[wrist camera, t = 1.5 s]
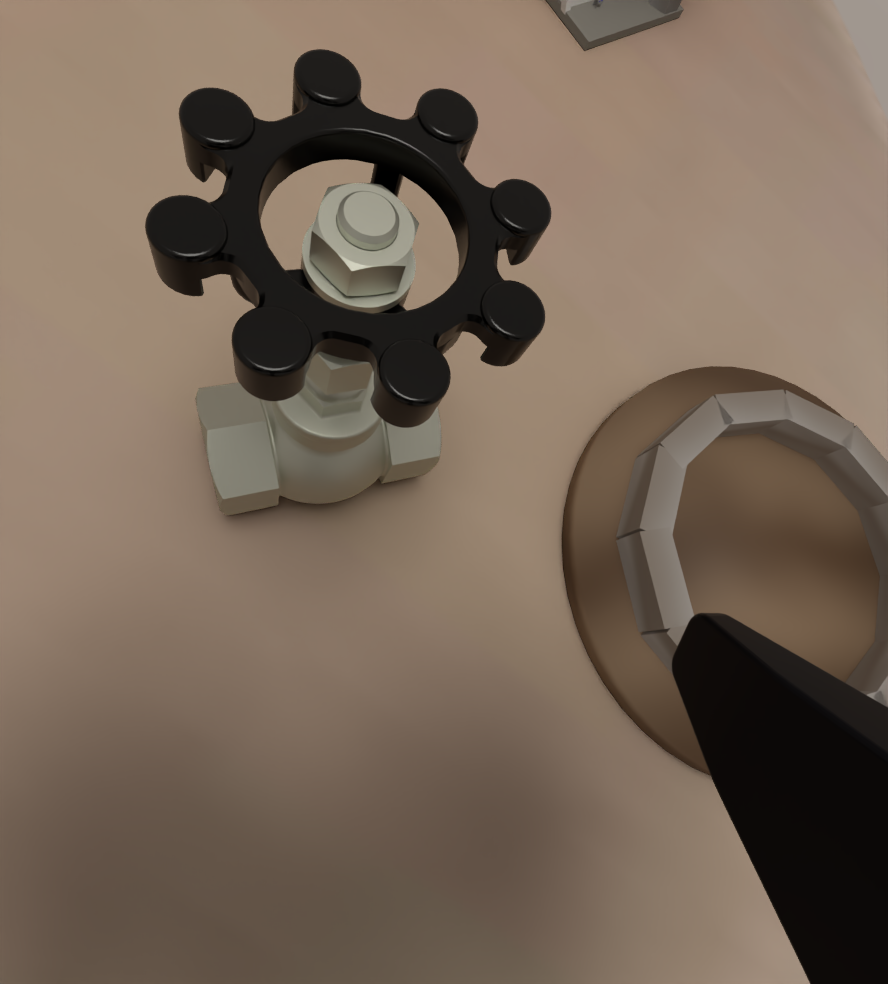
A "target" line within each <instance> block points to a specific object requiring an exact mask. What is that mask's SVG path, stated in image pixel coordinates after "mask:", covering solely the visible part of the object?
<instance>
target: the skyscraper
mask: <svg viewBox="0 0 888 984" xmlns="http://www.w3.org/2000/svg"><path fill="white" fill-rule="evenodd" d="M546 1H547V2H548V3H549V4H550V6H551V7H552V8H553V10H554V11H555V12H556V14H557V15H558V16H559V18H560V19H561V20H562V22H563V23H564V24H565V26H566V27H567V28H568V29H569V31H570V32H571V33H572V35H573V36H574V37H575V39H576V40H577V41H578V43H579V44H580V45H581V47H582V48H583V49H584V50H587V49H590V48H593V47H596V46H599V45H602V44H605V43H608V42H610V41H613V40H616V39H619V38H622V37H625V36H628V35H631V34H633V33H636V32H639V31H642V30H645V29H648V28H651V27H654V26H656V25H659V24H662V23H665V22H668V21H671V20H674V19H677V18H679V16H680V15H681V13H682V11H683V10H684V9H683V8H682V7H681V5H680V3H681V0H546Z"/></svg>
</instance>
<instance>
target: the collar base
mask: <svg viewBox="0 0 888 984" xmlns="http://www.w3.org/2000/svg"><path fill="white" fill-rule="evenodd" d="M562 549H563V569H564V575H565V581H566V587H567V593H568V598H569V602H570V605H571V609H572V612H573V616H574V619H575V623H576V626H577V629H578V631H579V633H580V636H581V638H582V641H583V643H584V645H585V648H586V650H587V653H588V655H589V657H590V659H591V661H592V662H593V664H594V666H595V668H596V670H597V671H598V673H599V675H600V677H601V679H602V680H603V682H604V684H605V685H606V686H607V688H608V689H609V691H610V692H611V693H612V695H613V696H614V698H615V699H616V700H617V702H618V703H619V705H620V706H621V707H622V709H623V710H624V711H625V712H626V713H627V714H628V715H629V716H630V717H631V718H632V720H633V721H634V722H635V723H636V724H637V725H638V726H639V727H640V728H641V729H642V730H643V731H644V732H645V733H646V734H647V735H648V736H649V737H651V738H652V739H653V740H654V741H655V742H656V743H658V744H659V745H660V746H661V747H662V748H664V749H665V750H666V751H667V752H669V753H671V754H672V755H674V756H675V757H677V758H678V759H680V760H681V761H683V762H684V763H686V764H688V765H689V766H691V767H693V768H695V769H697V770H699V771H702V772H704V773H706V774H708V775H710V772H709V770H708V767H707V765H706V762H705V760H704V757H703V754H702V752H701V749H700V746H699V744H698V741H697V738H696V736H695V733H694V730H693V728H692V725H691V722H690V720H689V717H688V714H687V712H686V709H685V706H684V704H683V701H682V698H681V696H680V693H679V690H678V688H677V685H676V682H675V680H674V677H673V673H672V657H673V655H674V652H675V650H676V648H677V646H678V644H679V642H680V639H681V637H682V635H683V633H684V631H685V629H686V627H687V624H688V622H689V621H690V619H691V618H692V617H693V616H694V615H695V614H698V613H723V614H726V615H729V616H730V617H732V618H734V619H736V620H737V621H739V622H741V623H743V624H744V625H746V626H748V627H750V628H751V629H753V630H755V631H756V632H758V633H760V634H762V635H763V636H765V637H767V638H769V639H770V640H772V641H774V642H776V643H777V644H779V645H781V646H782V647H784V648H786V649H788V650H789V651H791V652H793V653H795V654H796V655H798V656H800V657H802V658H803V659H805V660H807V661H808V662H810V663H812V664H814V665H815V666H817V667H819V668H821V669H822V670H824V671H826V672H828V673H829V674H831V675H833V676H834V677H836V678H838V679H840V680H841V681H843V682H845V683H847V684H848V685H850V686H852V687H854V688H855V689H857V690H859V691H860V692H862V693H864V694H866V695H867V696H869V697H871V698H873V699H874V700H876V701H878V702H880V703H881V704H883V705H885V706H886V707H888V462H887V460H886V459H885V458H884V457H883V456H882V455H881V453H880V452H879V451H878V450H877V449H876V448H875V446H874V445H873V444H872V443H871V442H870V441H869V439H868V438H867V437H866V436H865V435H864V434H863V432H862V431H861V430H860V429H859V428H858V427H857V425H856V426H854V423H852V422H850V421H848V420H846V419H844V418H843V417H842V416H841V415H840V414H839V413H838V412H836V411H835V410H834V409H832V408H831V407H830V406H828V405H827V404H825V403H824V402H823V401H821V400H820V399H818V398H817V397H816V396H814V395H812V394H810V393H809V392H807V391H805V390H803V389H801V388H800V387H798V386H796V385H794V384H792V383H789V382H787V381H785V380H782V379H780V378H778V377H775V376H772V375H768V374H765V373H762V372H758V371H755V370H749V369H743V368H736V367H703V368H695V369H689V370H685V371H682V372H679V373H675V374H672V375H669V376H667V377H665V378H663V379H661V380H658V381H656V382H654V383H652V384H650V385H649V386H647V387H646V388H644V389H643V390H642V391H640V392H639V393H637V394H636V395H634V396H633V397H632V398H630V399H629V400H628V401H626V402H625V403H624V404H622V405H621V406H620V407H618V408H617V409H616V410H615V411H614V412H613V413H612V414H611V415H610V416H609V417H608V418H607V419H606V420H605V421H604V422H603V423H602V425H601V426H600V427H599V429H598V430H597V431H596V433H595V434H594V435H593V437H592V438H591V439H590V441H589V443H588V444H587V446H586V448H585V450H584V452H583V454H582V456H581V458H580V459H579V461H578V464H577V467H576V469H575V472H574V475H573V478H572V480H571V483H570V486H569V491H568V496H567V500H566V505H565V510H564V520H563V533H562ZM710 776H711V775H710Z"/></svg>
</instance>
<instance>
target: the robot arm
mask: <svg viewBox="0 0 888 984" xmlns="http://www.w3.org/2000/svg"><path fill="white" fill-rule="evenodd" d="M672 673H673V677H674V680H675V682H676V685H677V688H678V690H679V693H680V696H681V698H682V701H683V704H684V706H685V709H686V712H687V714H688V717H689V720H690V722H691V725H692V728H693V730H694V733H695V736H696V738H697V741H698V744H699V746H700V749H701V752H702V754H703V757H704V760H705V762H706V765H707V767H708V770H709V772H710V775H711V777H712V780H713V782H714V784H715V786H716V788H717V791H718V793H719V795H720V797H721V799H722V801H723V804H724V806H725V808H726V810H727V812H728V814H729V816H730V818H731V820H732V822H733V824H734V826H735V828H736V831H737V833H738V835H739V837H740V839H741V841H742V843H743V845H744V847H745V849H746V851H747V853H748V855H749V857H750V860H751V862H752V864H753V866H754V868H755V870H756V872H757V874H758V876H759V878H760V880H761V882H762V884H763V887H764V889H765V891H766V893H767V895H768V897H769V899H770V901H771V903H772V905H773V907H774V909H775V911H776V913H777V916H778V918H779V920H780V922H781V924H782V926H783V928H784V930H785V932H786V934H787V936H788V938H789V940H790V943H791V945H792V947H793V949H794V951H795V953H796V955H797V957H798V959H799V961H800V963H801V965H802V967H803V969H804V972H805V974H806V976H807V978H808V980H809V982H810V984H888V707H886V706H885V705H883V704H881V703H880V702H878V701H876V700H874V699H873V698H871V697H869V696H867V695H866V694H864V693H862V692H860V691H859V690H857V689H855V688H854V687H852V686H850V685H848V684H847V683H845V682H843V681H841V680H840V679H838V678H836V677H834V676H833V675H831V674H829V673H828V672H826V671H824V670H822V669H821V668H819V667H817V666H815V665H814V664H812V663H810V662H808V661H807V660H805V659H803V658H802V657H800V656H798V655H796V654H795V653H793V652H791V651H789V650H788V649H786V648H784V647H782V646H781V645H779V644H777V643H776V642H774V641H772V640H770V639H769V638H767V637H765V636H763V635H762V634H760V633H758V632H756V631H755V630H753V629H751V628H750V627H748V626H746V625H744V624H743V623H741V622H739V621H737V620H736V619H734V618H732V617H730V616H729V615H726V614H723V613H698V614H695V615H694V616H693V617H692V618H691V619H690V621H689V622H688V624H687V627H686V629H685V631H684V633H683V635H682V637H681V639H680V642H679V644H678V646H677V648H676V650H675V652H674V655H673V657H672Z"/></svg>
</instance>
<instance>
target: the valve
mask: <svg viewBox="0 0 888 984" xmlns="http://www.w3.org/2000/svg"><path fill="white" fill-rule="evenodd" d="M360 92H361V79H360V75H359V73H358V71H357V69H356V68H355V66H354V65H353V64H352V63H351V62H350V61H349V60H348V59H346V58H345V57H344V56H342V55H340V54H338V53H336V52H333V51H329V50H323V49H318V50H311V51H308V52H306V53H304V54H303V55H301V56H300V57H299V58H298V60H297V62H296V63H295V67H294V78H293V103H292V115H290V116H288V117H285V118H283V119H280V120H277V121H263V120H260V119H258V118H256V117H254V115H253V113H252V111H251V109H250V108H249V106H248V105H247V104H246V103H245V102H244V101H243V100H242V99H241V98H240V97H238V96H237V95H235V94H234V93H231V92H229V91H227V90H223V89H219V88H202V89H198V90H195V91H193V92H191V93H190V94H188V95H187V96H186V97H185V98H184V99H183V101H182V103H181V105H180V108H179V119H180V126H181V132H182V138H183V144H184V150H185V157H186V162H187V165H188V167H189V169H190V171H191V172H192V173H193V174H194V175H195V177H196V178H198V179H199V180H200V181H202V182H206V181H207V179H208V178H209V176H210V175H211V174H212V172H213V171H214V169H217V170H219V171H221V172H222V173H223V174H224V175H225V176H226V182H225V185H224V189H223V193H222V194H221V196H220V197H219V198H218V199H217V200H215V201H213V202H210V203H208V202H207V201H205V200H202V199H200V198H197V197H193V196H188V195H178V196H171V197H168V198H165V199H163V200H161V201H159V202H158V203H157V204H155V205H154V206H153V207H152V208H151V210H150V211H149V213H148V215H147V218H146V224H145V229H146V234H147V238H148V241H149V245H150V249H151V252H152V256H153V259H154V263H155V267H156V270H157V273H158V275H159V277H160V278H161V279H162V281H163V282H164V283H165V284H166V285H167V286H168V287H170V288H171V289H173V290H174V291H176V292H179V293H181V294H184V295H189V296H202V295H203V293H204V292H203V286H202V280H201V279H205V278H208V277H211V276H214V275H217V274H228V275H230V276H231V280H232V284H233V287H234V288H235V290H236V291H237V293H238V294H239V295H240V296H242V297H243V298H244V299H245V300H247V301H249V302H251V303H252V304H254V306H255V307H256V308H255V309H252V310H250V311H248V312H247V313H245V314H244V315H243V316H242V317H240V319H239V320H238V321H237V323H236V324H235V327H234V329H233V332H232V348H233V358H234V366H235V373H236V376H237V379H238V381H239V383H232V384H225V385H218V386H211V387H204V388H199V389H198V392H197V395H196V398H195V400H196V406H197V411H198V416H199V421H200V425H201V430H202V435H203V439H204V444H205V448H206V453H207V457H208V462H209V466H210V471H211V475H212V479H213V484H214V488H215V492H216V496H217V500H218V504H219V508H220V511H221V512H222V513H223V514H225V515H227V516H229V515H233V514H238V513H243V512H248V511H253V510H257V509H262V508H267V507H272V506H277V505H278V500H279V496H283V497H285V498H288V499H291V500H294V501H298V502H303V503H312V504H325V503H333V502H338V501H341V500H345V499H347V498H350V497H352V496H355V495H356V494H358V493H360V492H362V491H363V490H365V489H366V488H368V487H369V486H370V485H372V484H373V483H374V482H375V481H376V480H377V479H378V478H379V480H380V482H381V484H382V483H387V482H392V481H396V480H401V479H406V478H411V477H416V476H420V475H425V474H426V473H428V472H429V471H430V470H431V469H432V468H433V467H434V466H435V465H436V464H437V463H438V461H439V458H440V452H441V424H440V417H439V411H438V405H439V403H440V401H441V400H442V398H443V397H444V395H445V394H446V392H447V390H448V388H449V385H450V378H451V377H450V369H449V365H448V363H447V361H446V359H445V357H444V356H443V354H444V353H445V352H446V351H447V350H449V349H450V348H451V347H452V346H453V345H454V344H455V343H456V341H457V340H458V338H459V336H460V334H461V333H462V331H464V332H469V333H472V334H474V335H476V336H477V337H478V338H479V339H480V340H481V341H482V342H483V343H484V344H485V345H486V346H487V348H486V349H485V351H484V352H483V354H482V355H481V357H480V358H481V361H483V362H485V363H487V364H490V365H493V366H507V365H510V364H512V363H514V362H516V361H517V360H518V359H519V358H520V357H521V356H522V354H523V353H524V352H525V351H526V349H527V348H528V347H529V346H530V344H531V343H532V342H533V341H534V340H535V338H536V337H537V336H538V335H539V333H540V332H541V330H542V328H543V326H544V323H545V310H544V307H543V304H542V302H541V300H540V298H539V297H538V296H537V294H536V293H535V292H534V291H533V290H532V289H530V288H529V287H527V286H526V285H524V284H522V283H519V282H516V281H511V280H506V281H505V280H503V278H502V277H501V276H500V274H499V272H498V269H497V259H498V251H499V250H501V249H506V250H507V254H508V259H509V263H510V265H517V264H519V263H522V262H523V261H525V260H526V259H527V258H528V257H529V255H530V254H531V252H532V250H533V249H534V247H535V246H536V244H537V242H538V241H539V239H540V238H541V236H542V234H543V233H544V231H545V230H546V228H547V226H548V225H549V223H550V219H551V207H550V204H549V202H548V200H547V198H546V196H545V195H544V193H543V192H542V191H541V190H540V189H539V188H538V187H536V186H535V185H533V184H531V183H529V182H527V181H524V180H520V179H510V180H506V181H503V182H501V183H500V184H498V185H497V186H496V187H495V188H489V187H486V186H484V185H482V184H480V183H479V182H477V181H476V180H475V178H474V177H473V176H472V175H471V173H470V172H469V171H468V170H467V168H466V167H465V166H464V162H465V160H466V157H467V155H468V152H469V149H470V147H471V144H472V141H473V139H474V136H475V134H476V131H477V128H478V117H477V113H476V111H475V109H474V107H473V106H472V105H471V103H470V102H469V101H468V100H467V99H466V98H465V97H463V96H462V95H460V94H459V93H457V92H454V91H452V90H448V89H441V88H439V89H432V90H429V91H427V92H426V93H424V94H423V95H422V96H421V97H420V99H419V101H418V103H417V107H416V110H415V113H414V115H413V116H412V117H411V118H409V119H405V120H400V119H395V118H392V117H389V116H386V115H382V114H379V113H376V112H373V111H371V110H370V109H368V108H367V107H366V106H365V105H364V104H363V102H362V100H361V97H360ZM339 159H348V160H359V161H363V162H368V163H373V164H374V169H373V173H372V178H371V183H350V184H342V185H337V186H332V187H328V189H327V191H326V193H325V195H324V198H323V200H322V203H321V205H320V208H319V211H318V214H317V216H316V219H315V222H314V223H313V224H312V225H311V226H310V228H309V229H308V231H307V233H306V235H305V237H304V241H303V246H302V260H301V269H295V270H284V269H283V268H282V266H281V265H280V263H279V262H278V260H277V259H276V257H275V256H274V254H273V253H272V251H271V250H270V248H269V247H268V244H267V241H266V239H265V236H264V234H263V231H262V228H261V222H260V220H261V215H262V211H263V208H264V206H265V204H266V201H267V199H268V198H269V196H270V194H271V193H272V191H273V190H274V189H275V188H276V187H277V185H278V184H279V183H281V182H282V181H283V180H284V179H286V178H287V177H288V176H290V175H291V174H292V173H293V172H295V171H297V170H300V169H302V168H304V167H306V166H309V165H311V164H314V163H318V162H322V161H328V160H339ZM403 176H404V177H406V178H408V179H409V180H411V181H412V182H414V183H416V184H417V185H418V186H420V187H421V188H422V189H423V190H424V191H426V192H427V193H428V194H429V195H430V196H431V197H432V198H433V199H434V200H435V202H436V203H437V204H438V205H439V207H440V208H441V209H442V211H443V212H444V214H445V215H446V217H447V219H448V221H449V223H450V225H451V228H452V230H453V232H454V234H455V237H456V242H457V248H458V253H459V268H458V275H457V278H456V281H455V282H454V283H453V284H452V285H451V286H450V288H449V289H448V290H447V291H446V292H445V293H444V294H442V295H441V296H440V297H438V298H437V299H435V300H434V301H432V302H431V303H428V304H426V305H424V306H421V307H419V308H417V309H413V310H408V311H407V310H406V309H405V308H404V307H403V305H404V303H405V300H406V297H407V295H408V292H409V290H410V287H411V284H412V281H413V278H414V275H415V268H416V264H415V256H414V252H413V250H412V245H413V242H414V238H415V235H416V232H417V228H418V225H419V222H418V221H417V220H416V218H415V217H414V216H413V214H412V213H411V212H410V211H409V209H408V208H407V207H406V206H405V205H404V204H403V203H402V202H401V201H400V200H399V199H398V198H397V197H398V194H399V190H400V187H401V183H402V180H403Z"/></svg>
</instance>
